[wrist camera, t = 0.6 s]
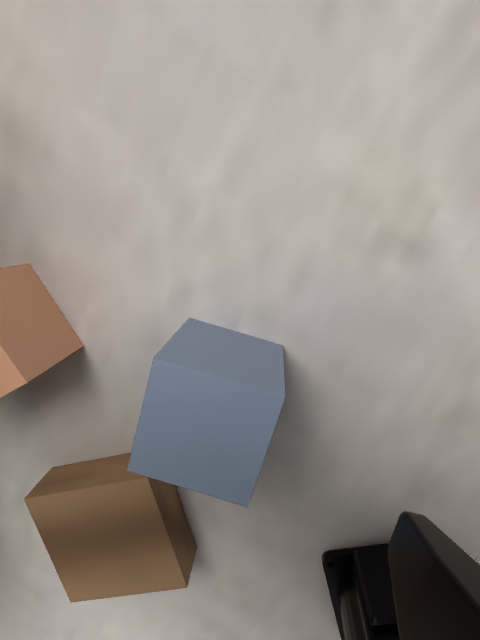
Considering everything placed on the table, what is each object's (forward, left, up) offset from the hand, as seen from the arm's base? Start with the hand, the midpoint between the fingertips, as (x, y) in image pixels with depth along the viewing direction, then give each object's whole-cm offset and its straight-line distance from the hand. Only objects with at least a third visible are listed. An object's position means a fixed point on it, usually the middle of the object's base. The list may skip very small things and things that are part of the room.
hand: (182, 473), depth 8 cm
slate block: (-3, +2, -12) cm, 13 cm away
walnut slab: (-10, +10, -12) cm, 18 cm away
